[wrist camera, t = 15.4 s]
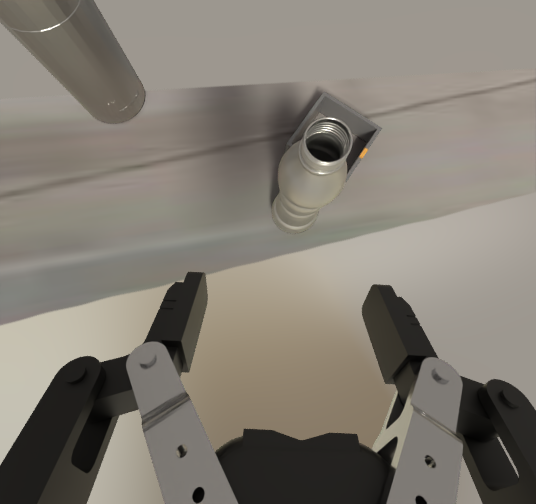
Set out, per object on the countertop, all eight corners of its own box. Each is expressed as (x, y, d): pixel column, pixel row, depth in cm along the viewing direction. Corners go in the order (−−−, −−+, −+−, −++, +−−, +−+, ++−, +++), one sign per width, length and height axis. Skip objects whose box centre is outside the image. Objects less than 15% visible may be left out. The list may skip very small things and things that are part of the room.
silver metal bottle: (322, 211, 38) (391, 133, 18) (295, 246, 37) (336, 202, 17) (289, 185, 38) (321, 80, 19) (261, 219, 38) (263, 146, 18)
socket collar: (283, 156, 39) (286, 142, 35) (318, 107, 40) (324, 89, 36) (338, 191, 39) (346, 181, 35) (371, 141, 40) (383, 126, 36)
